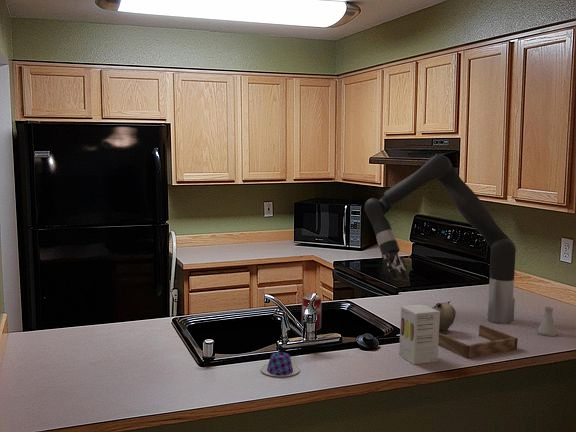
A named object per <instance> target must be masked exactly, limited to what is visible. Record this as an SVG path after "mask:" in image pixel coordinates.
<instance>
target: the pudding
mask: <svg viewBox="0 0 576 432" xmlns="http://www.w3.org/2000/svg"><path fill="white" fill-rule="evenodd" d="M291 359H292V357H291V355H290V354H289V353H286V352H284V351H283V352H281V351H278V352H274V353H272V354H271V355H270V357H269V361H268V363H265V364H264V365H262V366H261V367H260V371H261V372H262V373H263V374H265V375H268V376H271V377H281V378H283V377H289V376H294V375H296V374H298V373H299V372H300V369H301V368H300V367H299V366H298V365H297V364H293V363H292V360H291Z"/></svg>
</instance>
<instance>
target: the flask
mask: <svg viewBox="0 0 576 432" xmlns="http://www.w3.org/2000/svg"><path fill="white" fill-rule="evenodd" d="M543 309H544V314H543V317H542V320H541V322H540V323H539V326H538V328H537V331H536V333H537V335H542V336H549V337H555V336H558V332H557V328H556V324H555V322H554V318H553V310H554V307H551V306H544V307H543Z"/></svg>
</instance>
